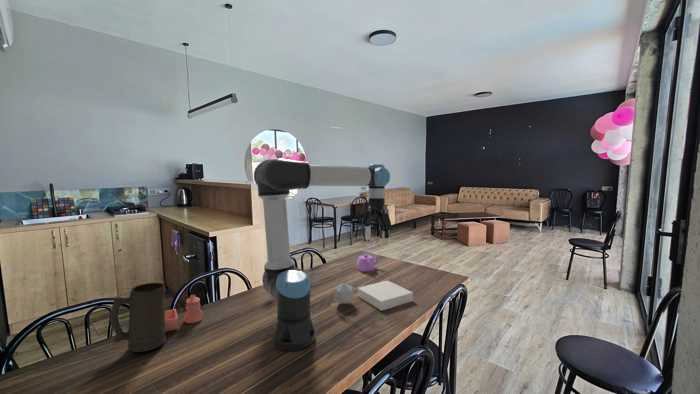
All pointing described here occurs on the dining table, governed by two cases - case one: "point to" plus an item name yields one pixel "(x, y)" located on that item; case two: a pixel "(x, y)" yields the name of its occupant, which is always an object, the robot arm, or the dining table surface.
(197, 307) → the pottery
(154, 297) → the beer stein
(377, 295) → the plinth
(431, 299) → the dining table surface
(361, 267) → the teapot
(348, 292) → the die
